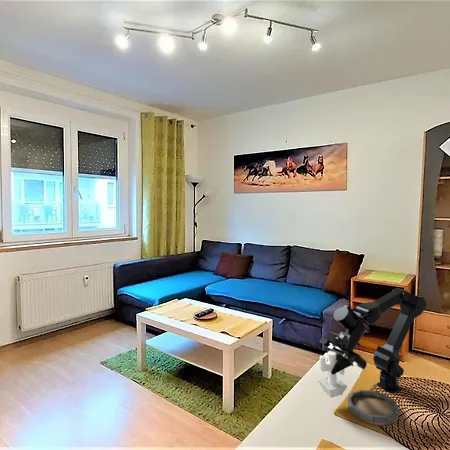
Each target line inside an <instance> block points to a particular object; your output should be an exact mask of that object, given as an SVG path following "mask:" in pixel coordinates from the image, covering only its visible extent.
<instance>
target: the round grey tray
mask: <svg viewBox="0 0 450 450" xmlns="http://www.w3.org/2000/svg"><path fill="white" fill-rule="evenodd" d="M361 396H367V397H375V398H378V399H381V400H384V401H385V402H387V403H389V404H390V405H392V406H393V408H394V410H395V411H394V413H391V414H388V415H386V416H383V415H372V414H369V413H366V412H363V411H361V410H359V409H358V408H357V407H355V406H354V405H353V403H352V401H353V399H355V398H358V397H361ZM347 402H348V404H349V407H350V410H351V411H352V412H353V413H355V414H356V415H357V416H358V417H360V418H362V419H365V420H368V421H371V422H374V423H389V422H391V421H394V420H396V419H397V417H398V414H400V413H399V412H400V411H399V410H400V408H399V407H400V406H399V405H398V404H397V402H396V400H395V399H393V398H392V397H389V396H388V395H387V394H385V393H382V392H379V391H377V390H373V389H360V390H355V391H353V392H351V393H350V394H349V396H348V397H347ZM350 410H349V411H350Z"/></svg>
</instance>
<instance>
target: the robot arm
mask: <svg viewBox="0 0 450 450" xmlns="http://www.w3.org/2000/svg"><path fill="white" fill-rule="evenodd" d="M398 304H399V309H400V313H399V316H398V317H397V319H396V321H395V324H394V326H393V328H392V329H391V332H390V334H389V336H388V338H387V341H386V343H385V344H384V345H378V346H377V347H376V350H375V352H374V353H373V357H372V359H373V363H374V365H375V368H376V369H378V370H379V371H380V373H379V382H378V383H376V385H377V386H378V387H380V388H381V389H383V390H385V391H386V392H388V393H394V392H397V391H401V390H402V389H403V387H402V386H400V384H399V381H400V380H399V379H400V378H401V377H402V376H403V375H404V371H405V370H404V368H403V367H402V366H401V365H400V361H401V358H400V350H401V347H402V345H403V344H404V341H405V340H406V337H407V335H408V332H409V330H410V328H411V327H412V324H413V321H414V320H415V319H416V318H417V317H419V316H421V315H422V314H423V312H425V311H424V310H425V309H426V307H427V301H426V300H425V298H424V297H423V296H419V295H416V294H413V293H412V292H409V291H408V290H406V289H401V288H397V287H396V288H393V289H392V291H389V292H388V293H385V294H384V295H382V296H381V297H379V298H377V299H375V300H374V301H371V302H370V301H368V302H362V303H360V304H357V306H355V307H354V308H351V307H350V306H349V305H347V304H344V305H343V306H341V307H338V308H336V309H334V310H335V311H334V313H333V319H335V321H336V322H337V323H339V324H340V325H341V327H342V328H344V329H345V330H344V331H340V332H339V333H337V332H333V331H330V330H329V331H327V335H326V336H322V337H321V338H320V339H319V342H320V343H321V345H323V346H324V347H325V348H326V349H327V352H328V351H333V352H335V353H336V360H338V361H337V362H336V364H335V366H334V368H333V369H332V372H331V374H333V375H334V374H336V375H337V374H338V373H339V371H341V370H343V369H344V370H346V369H347V368H349V367H354V366H355V365H354V363H355V364H356V366H357V367H359V368H360V369H362V370H365V369H366V368H367V362H368V361H366V359H364V358H363V357H362V356H361V355H360V354H358V353H356V352H355V351H354V350H355V349H356V347H360V345H361V343H360V340H361V339H362V338H363V336H364V334H365V333H369V334H370V333H371V329H370V326H369V324H371V325H373V324H374V323H376V322H377V321H378V320H379V319H380V318H381V316H382V314H383V313H384V312H386V311H388V310H389V309H391V308H393V307H394V306H396V305H398ZM364 322H365V323H364ZM366 323H367V324H366ZM326 362H328V359H327V358H326Z"/></svg>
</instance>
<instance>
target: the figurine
mask: <svg viewBox="0 0 450 450" xmlns="http://www.w3.org/2000/svg"><path fill="white" fill-rule="evenodd" d="M327 359H328V362H327V361H326V360H327ZM337 361H338V360H336V353H335V352H333V351H328V350H327V357H326V358H325V356H324V355H320V356H319V369H320V371H322V372H327V373H328V376H327V377H324V378H322V379H321V378H320V379H318V380H317V381H318V383H319V385H320V386H321V388H322V390H323V392H325V393H326V394H327V396H329V397H330V398H335V397H339V396H343V394H344V392H345V391H346V390H347V388H348V385H347V384H345V383H344V382H343V381H342V380H341V379H339V378H338V377H337V373H336V374H334V375H333V374H331V372H332V369H333V368H334V366H335V364H336V362H337ZM338 374H340V375H342V376H344V375H345V369H343V370H341V371H339V372H338Z"/></svg>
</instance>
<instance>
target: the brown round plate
mask: <svg viewBox="0 0 450 450" xmlns="http://www.w3.org/2000/svg"><path fill="white" fill-rule="evenodd" d="M352 403H353V405H354V406H355V407H357V408H358V409H359V410H361V411H363V412H366V413H369V414H372V415H383V416H386V415H388V414H391V413H394V411H395V410H394V408H393V406H392V405H390V404H389V403H387V402H385V401H384V400H381V399H378V398H375V397H367V396H361V397H358V398H355V399H353V401H352ZM348 410H349V412H350V413H351V414H352V416H353V417H355V418H356V419H357V420H359V421H362V422H364V423H366V424H369V425H373V426H391V425H394V424H395V423H397V421H399V417H400V416H399V414H400V413H399V414H398V417H397V419H396V420H394V421H391V422H389V423H374V422H371V421H368V420H365V419H362V418H360V417H358V416H357V415H356V414H355V413H353V412H352V411H351V410H350V407H349V404H348Z"/></svg>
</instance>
